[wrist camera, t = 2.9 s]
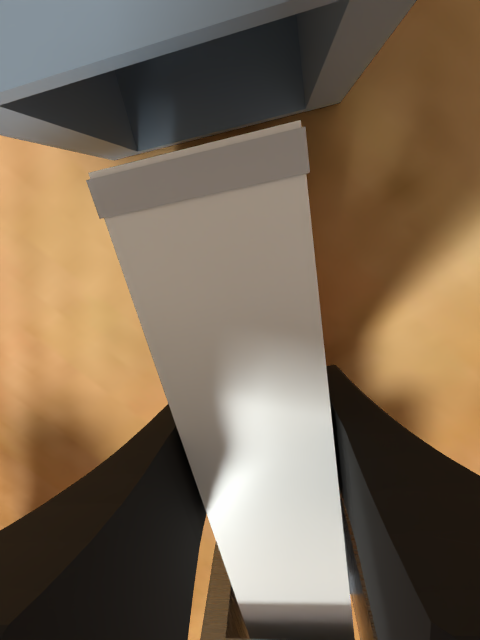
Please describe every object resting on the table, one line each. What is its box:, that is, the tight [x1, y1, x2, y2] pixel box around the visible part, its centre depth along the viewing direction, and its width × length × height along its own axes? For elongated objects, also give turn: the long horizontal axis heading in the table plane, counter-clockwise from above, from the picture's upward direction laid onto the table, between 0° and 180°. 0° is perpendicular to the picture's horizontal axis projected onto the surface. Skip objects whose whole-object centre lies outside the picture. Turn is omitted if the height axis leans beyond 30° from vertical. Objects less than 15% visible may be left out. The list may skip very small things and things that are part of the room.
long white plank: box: [86, 120, 355, 640], centre depth 10 cm, size 4×19×4 cm, turn 11°
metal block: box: [200, 489, 378, 640], centre depth 12 cm, size 6×7×5 cm
